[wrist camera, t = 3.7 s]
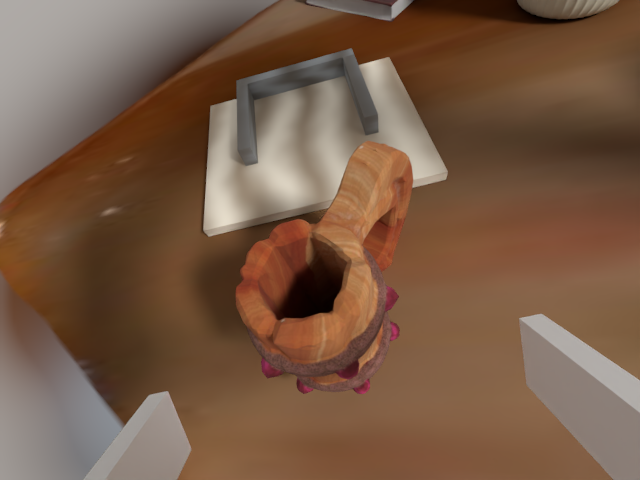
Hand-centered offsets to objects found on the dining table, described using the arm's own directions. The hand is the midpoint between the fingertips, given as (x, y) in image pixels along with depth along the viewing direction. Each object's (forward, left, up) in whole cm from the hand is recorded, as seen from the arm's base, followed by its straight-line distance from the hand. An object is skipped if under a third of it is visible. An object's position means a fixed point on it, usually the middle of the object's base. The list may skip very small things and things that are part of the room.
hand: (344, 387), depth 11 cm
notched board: (0, -30, -14) cm, 33 cm away
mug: (-1, -7, -14) cm, 16 cm away
